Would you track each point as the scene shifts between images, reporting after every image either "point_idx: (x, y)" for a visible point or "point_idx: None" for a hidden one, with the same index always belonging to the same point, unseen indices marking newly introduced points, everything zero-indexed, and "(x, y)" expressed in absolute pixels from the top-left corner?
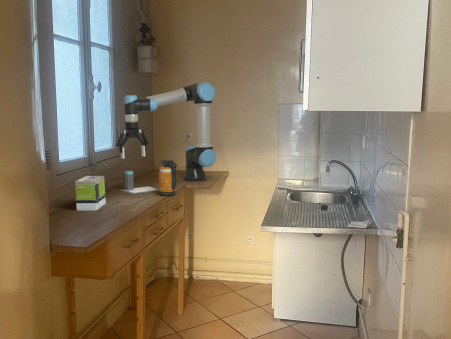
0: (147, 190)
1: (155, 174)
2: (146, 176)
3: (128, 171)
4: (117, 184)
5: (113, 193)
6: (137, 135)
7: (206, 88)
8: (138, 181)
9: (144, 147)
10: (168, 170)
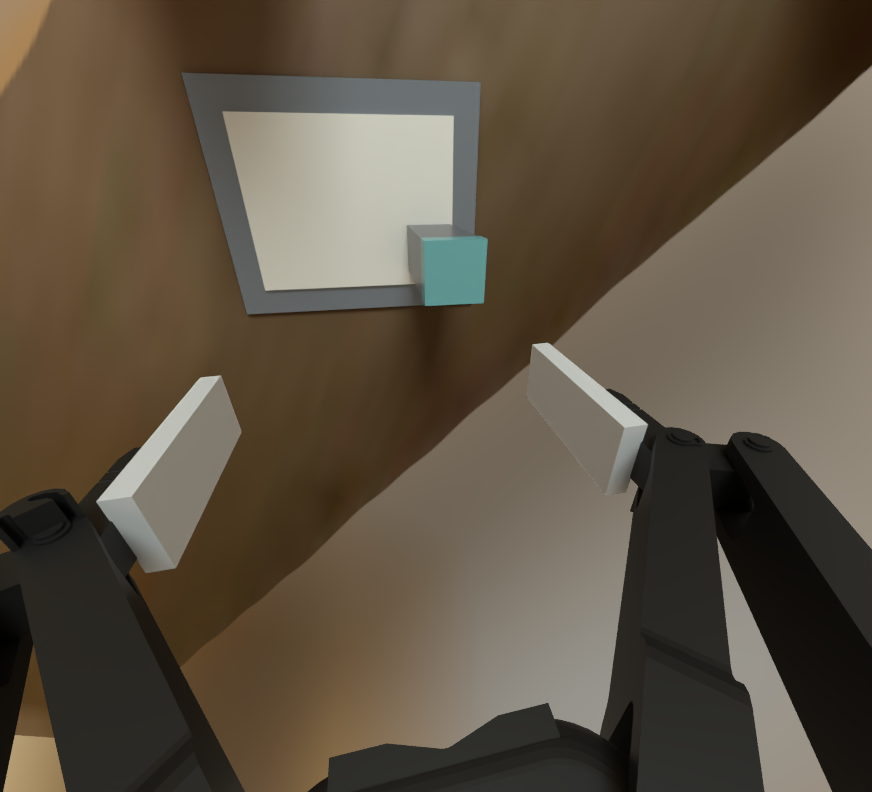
0: (322, 125)
1: None
2: (185, 602)
3: (460, 273)
4: (404, 468)
5: (550, 217)
6: None
7: None
8: (269, 501)
9: (129, 471)
10: None
